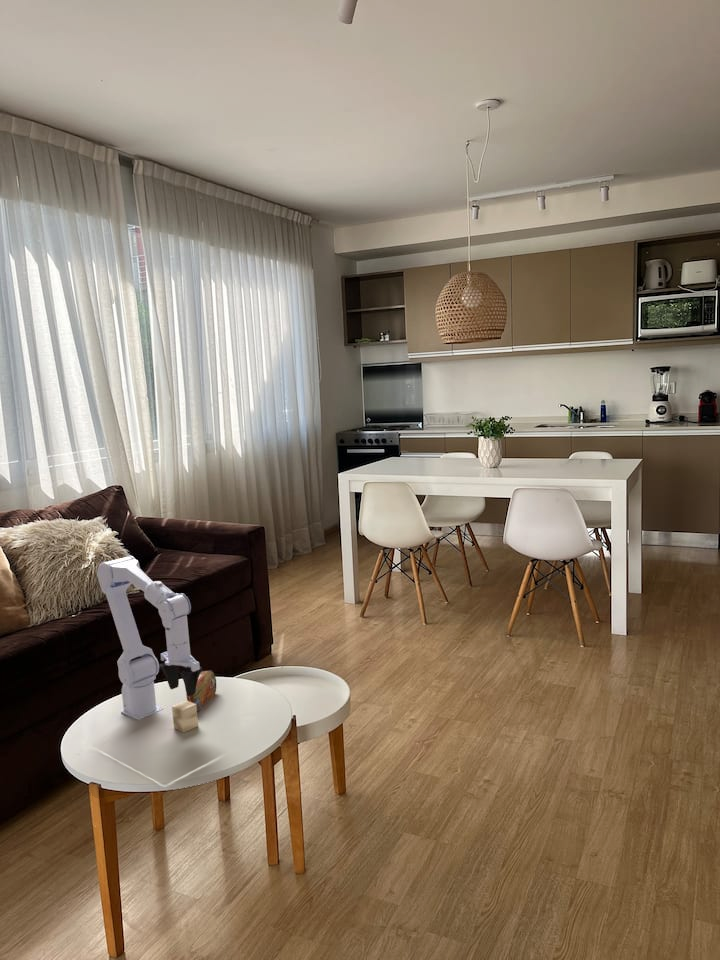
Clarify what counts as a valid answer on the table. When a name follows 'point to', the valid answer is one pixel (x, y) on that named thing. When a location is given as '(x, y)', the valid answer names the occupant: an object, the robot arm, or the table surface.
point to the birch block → (185, 716)
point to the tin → (203, 689)
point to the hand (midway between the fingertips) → (182, 691)
